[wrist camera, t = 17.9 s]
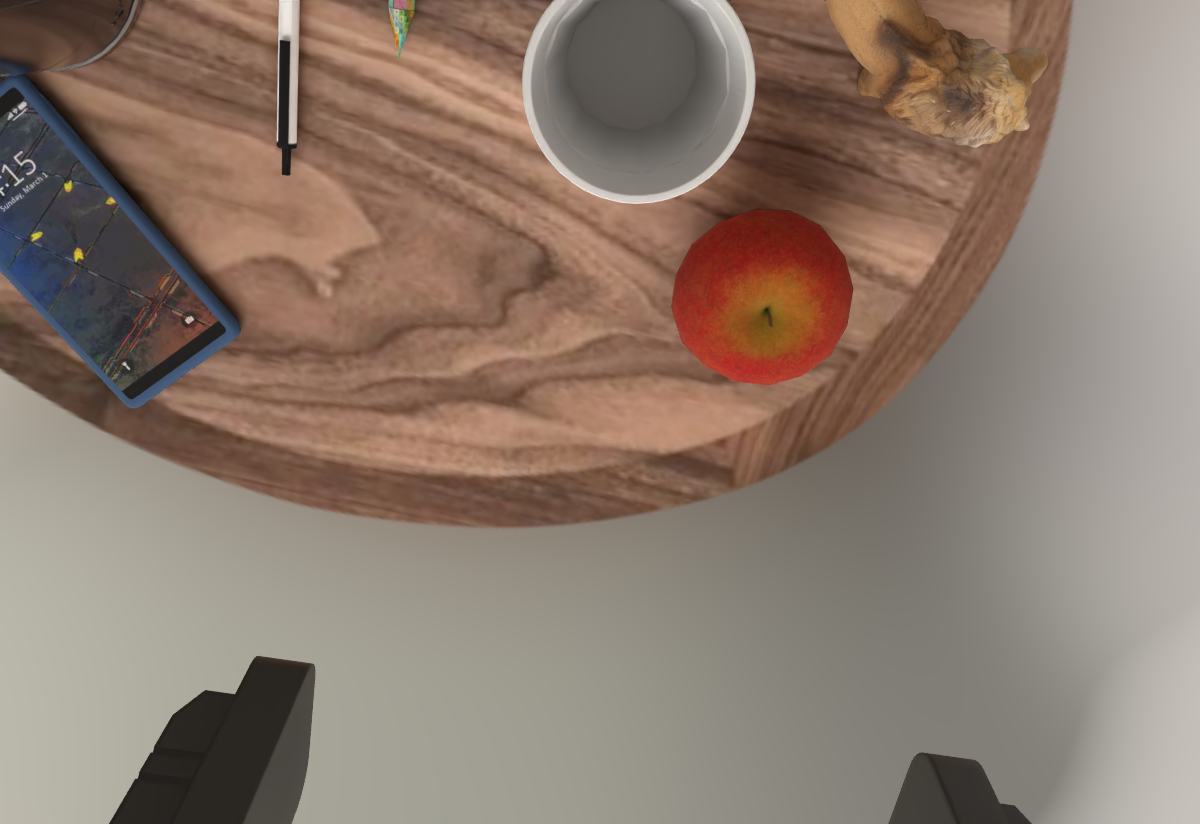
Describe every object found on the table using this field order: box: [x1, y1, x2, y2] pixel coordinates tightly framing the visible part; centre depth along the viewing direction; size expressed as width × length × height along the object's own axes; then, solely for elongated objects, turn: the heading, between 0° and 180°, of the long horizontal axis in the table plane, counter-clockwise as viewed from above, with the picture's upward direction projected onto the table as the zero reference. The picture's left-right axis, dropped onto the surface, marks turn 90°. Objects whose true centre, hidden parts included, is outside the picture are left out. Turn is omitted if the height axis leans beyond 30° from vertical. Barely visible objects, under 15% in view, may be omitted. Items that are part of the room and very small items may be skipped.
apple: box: [671, 209, 853, 385], centre depth 47 cm, size 8×8×8 cm
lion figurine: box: [825, 0, 1048, 147], centre depth 41 cm, size 15×5×9 cm, turn 51°
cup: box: [522, 0, 755, 203], centre depth 41 cm, size 8×8×12 cm
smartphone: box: [0, 75, 241, 408], centre depth 49 cm, size 8×1×15 cm
